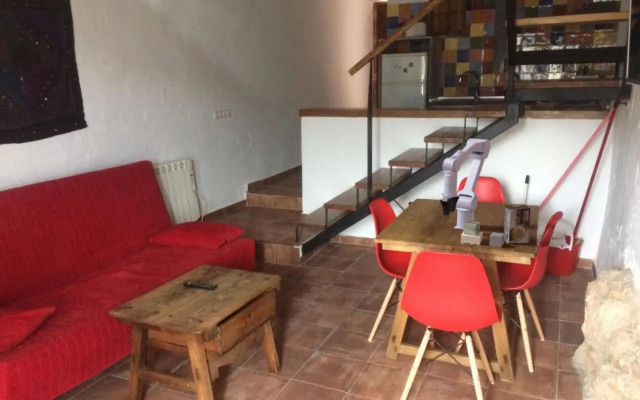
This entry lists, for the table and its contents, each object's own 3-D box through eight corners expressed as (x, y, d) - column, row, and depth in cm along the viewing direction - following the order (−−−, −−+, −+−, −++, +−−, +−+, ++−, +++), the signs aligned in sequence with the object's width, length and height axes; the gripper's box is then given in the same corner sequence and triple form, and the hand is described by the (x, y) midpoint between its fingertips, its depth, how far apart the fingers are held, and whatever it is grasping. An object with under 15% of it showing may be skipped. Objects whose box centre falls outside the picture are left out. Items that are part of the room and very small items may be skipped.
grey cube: (492, 242, 224) (492, 232, 223) (503, 244, 222) (504, 233, 220) (489, 246, 220) (489, 235, 219) (500, 248, 217) (501, 236, 216)
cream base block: (463, 238, 232) (464, 230, 231) (482, 240, 229) (482, 231, 228) (460, 243, 225) (461, 235, 224) (479, 245, 222) (479, 237, 221)
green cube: (468, 231, 229) (469, 220, 228) (479, 233, 226) (479, 222, 225) (464, 233, 225) (464, 223, 224) (474, 235, 222) (475, 225, 221)
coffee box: (522, 238, 228) (525, 204, 224) (528, 243, 222) (531, 207, 218) (502, 239, 228) (504, 204, 224) (508, 244, 222) (510, 208, 218)
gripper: (447, 181, 239) (446, 209, 242) (436, 186, 227) (435, 215, 230) (462, 182, 236) (460, 210, 239) (451, 187, 224) (450, 217, 227)
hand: (449, 213), depth 234 cm, fingers open, 7 cm apart
